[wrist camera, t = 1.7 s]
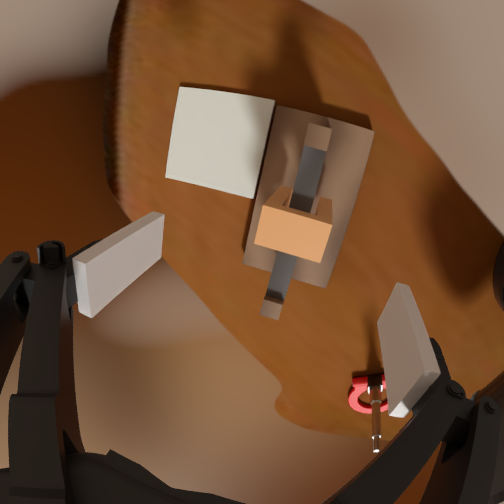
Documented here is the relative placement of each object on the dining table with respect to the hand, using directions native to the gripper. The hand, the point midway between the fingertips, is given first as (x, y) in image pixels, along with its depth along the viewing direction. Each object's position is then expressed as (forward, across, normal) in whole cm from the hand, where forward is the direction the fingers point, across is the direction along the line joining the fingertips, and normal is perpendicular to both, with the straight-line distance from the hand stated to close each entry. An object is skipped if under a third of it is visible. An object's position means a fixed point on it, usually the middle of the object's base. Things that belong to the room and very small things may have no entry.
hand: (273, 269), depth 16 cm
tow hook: (+18, -20, +25) cm, 37 cm away
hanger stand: (+18, 0, 0) cm, 18 cm away
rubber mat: (+18, +11, -4) cm, 21 cm away
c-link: (+14, 0, 0) cm, 14 cm away
